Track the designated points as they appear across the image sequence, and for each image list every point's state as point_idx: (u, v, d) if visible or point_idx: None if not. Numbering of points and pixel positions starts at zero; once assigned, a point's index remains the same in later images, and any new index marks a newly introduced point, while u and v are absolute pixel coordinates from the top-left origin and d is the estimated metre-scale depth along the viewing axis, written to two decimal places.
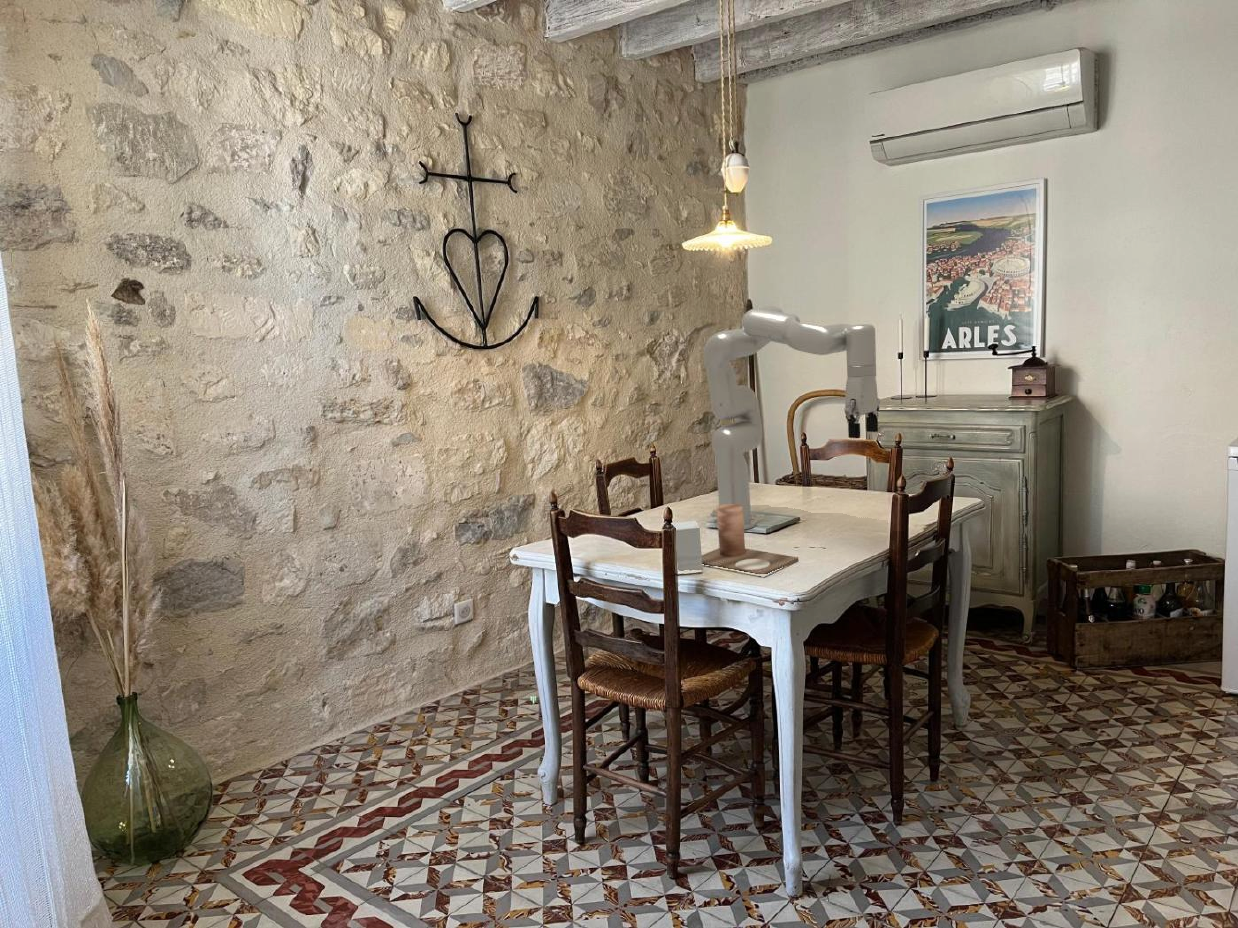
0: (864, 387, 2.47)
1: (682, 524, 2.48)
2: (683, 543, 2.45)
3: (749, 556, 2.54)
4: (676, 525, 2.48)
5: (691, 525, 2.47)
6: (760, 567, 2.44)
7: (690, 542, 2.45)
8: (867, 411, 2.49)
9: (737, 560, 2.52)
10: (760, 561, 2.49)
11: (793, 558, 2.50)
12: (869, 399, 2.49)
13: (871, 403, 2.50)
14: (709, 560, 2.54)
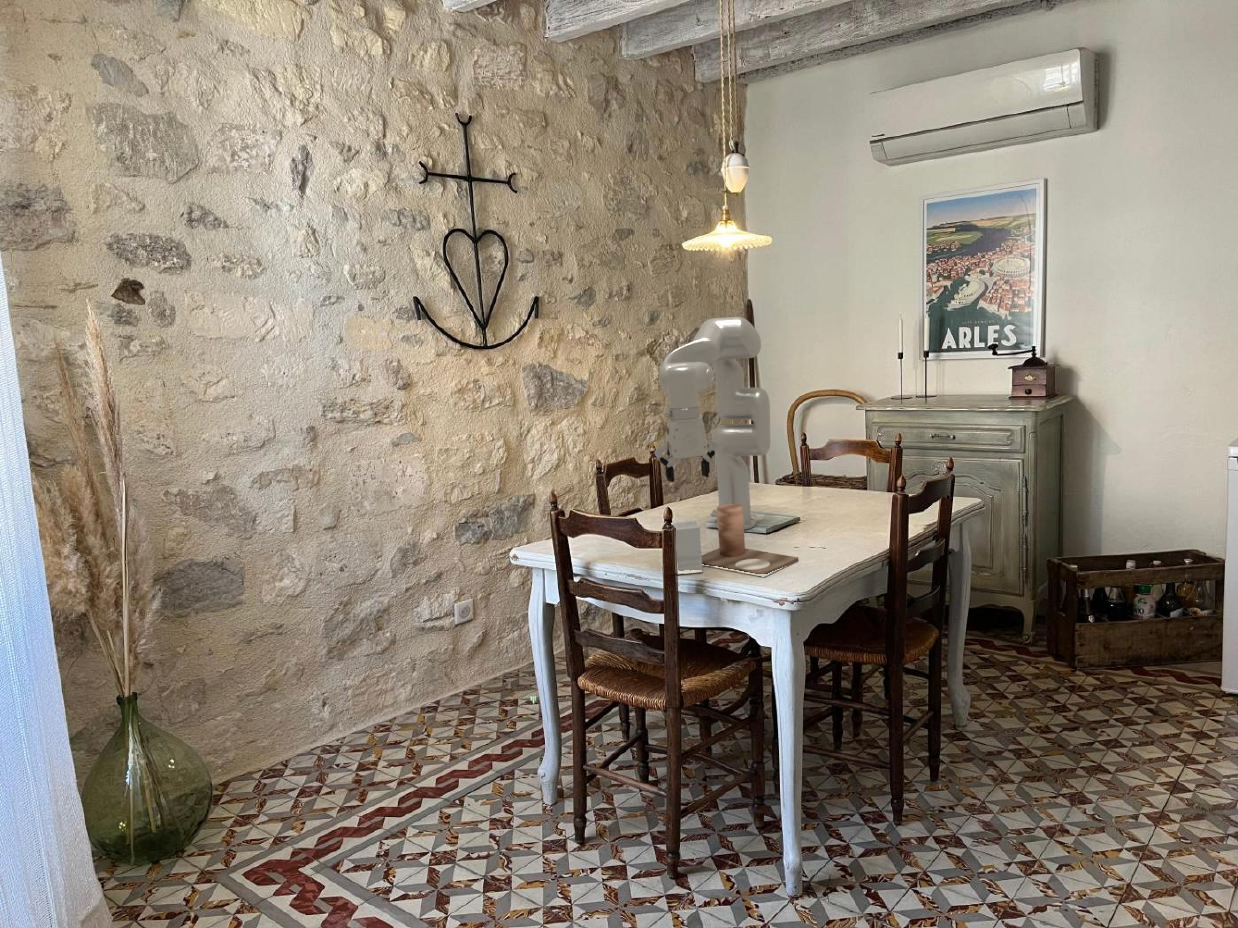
0: None
1: (682, 524, 2.48)
2: (683, 543, 2.45)
3: (749, 556, 2.54)
4: (676, 525, 2.48)
5: (691, 525, 2.47)
6: (760, 567, 2.44)
7: (690, 542, 2.45)
8: None
9: (737, 560, 2.52)
10: (760, 561, 2.49)
11: (793, 558, 2.50)
12: None
13: None
14: (709, 560, 2.54)
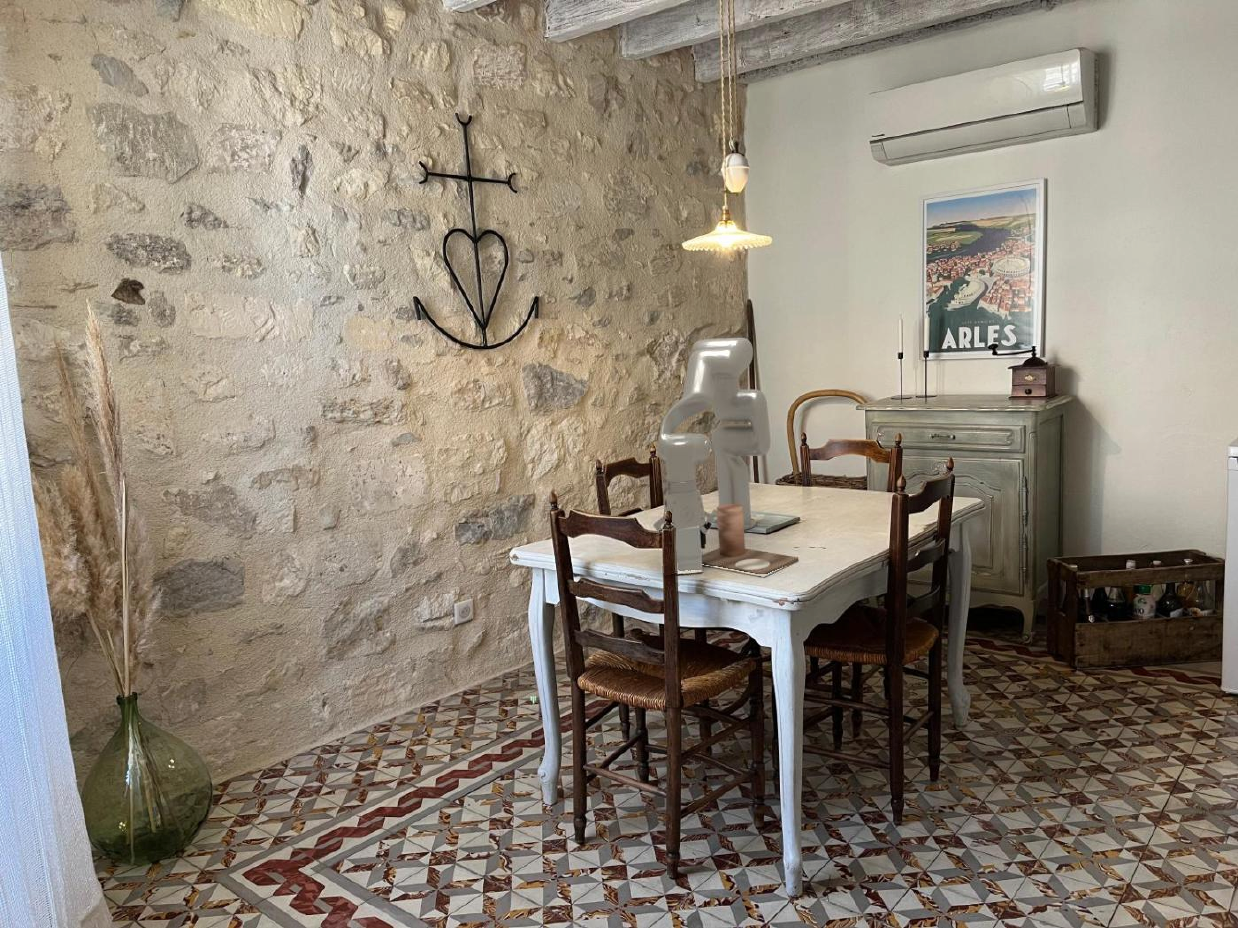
0: None
1: None
2: (683, 542, 2.45)
3: (749, 556, 2.54)
4: None
5: None
6: (760, 567, 2.44)
7: (691, 542, 2.45)
8: None
9: (737, 560, 2.52)
10: (760, 561, 2.49)
11: (793, 558, 2.50)
12: None
13: None
14: (709, 560, 2.54)
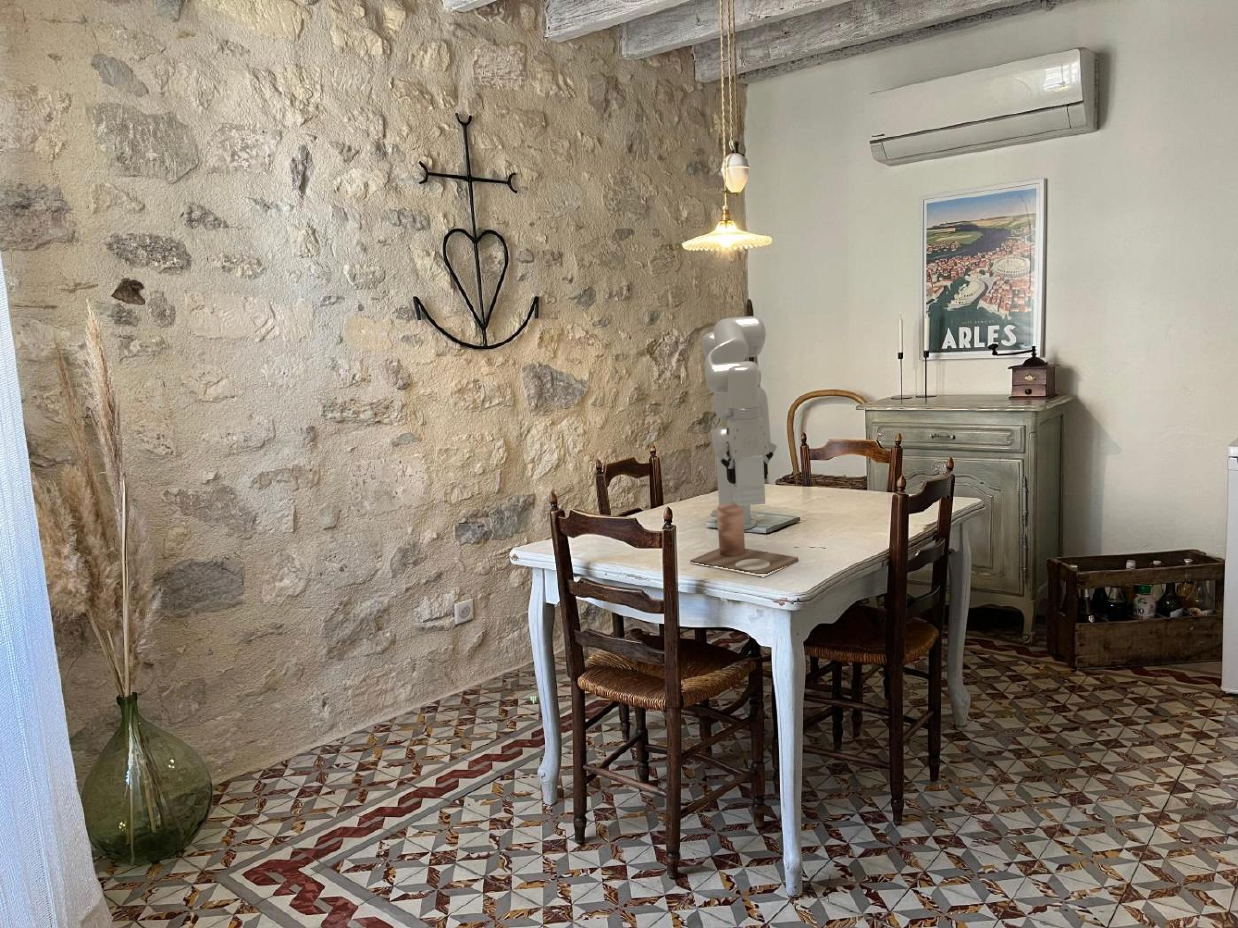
0: None
1: None
2: (746, 471, 2.39)
3: (749, 556, 2.54)
4: None
5: None
6: (760, 567, 2.44)
7: (754, 471, 2.39)
8: None
9: (737, 560, 2.52)
10: (760, 561, 2.49)
11: (793, 558, 2.50)
12: None
13: None
14: (709, 560, 2.54)
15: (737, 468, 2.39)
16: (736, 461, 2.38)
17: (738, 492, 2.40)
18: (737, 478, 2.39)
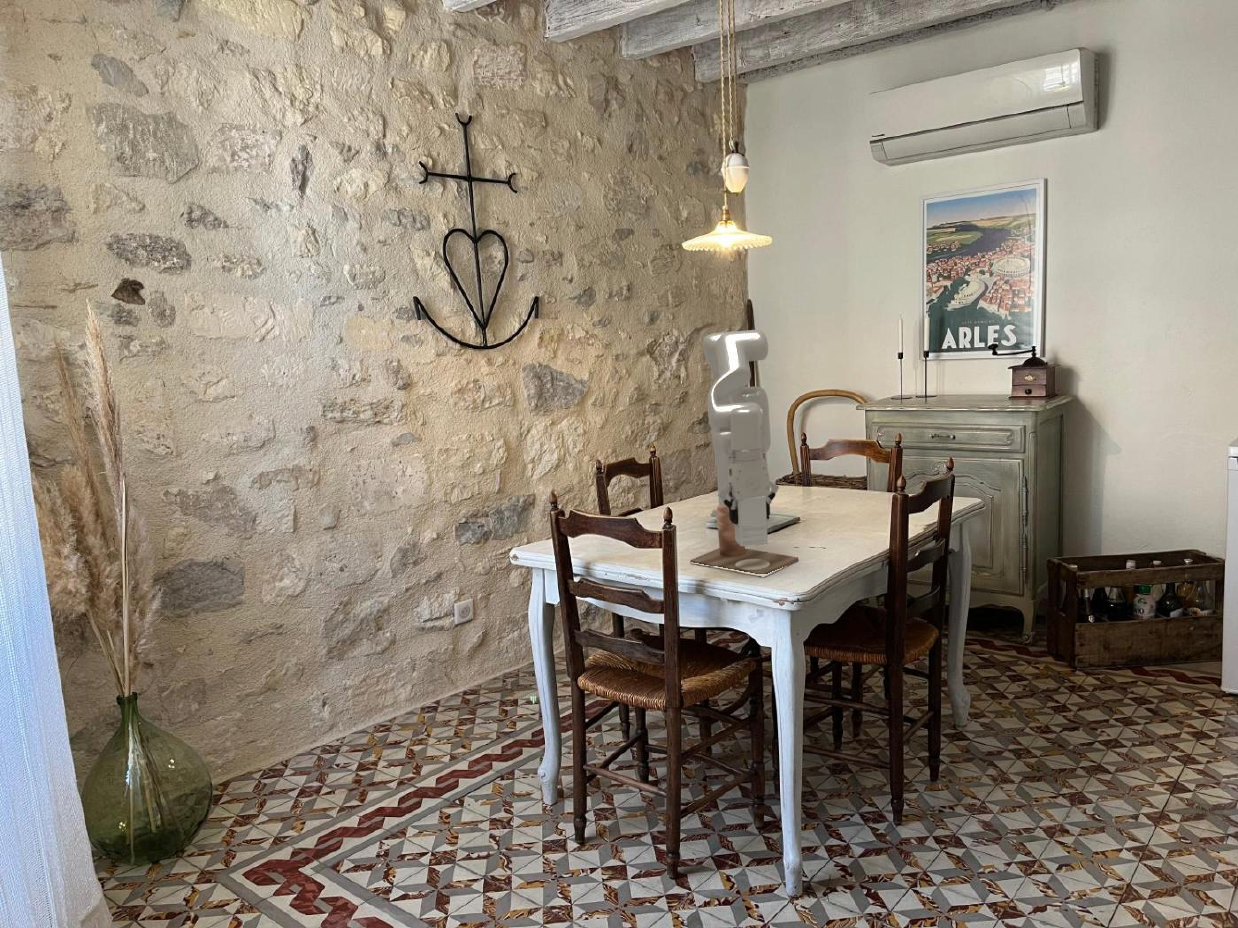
0: None
1: None
2: (748, 512, 2.41)
3: (749, 556, 2.54)
4: None
5: None
6: (760, 567, 2.44)
7: (756, 511, 2.41)
8: None
9: (737, 560, 2.52)
10: (760, 561, 2.49)
11: (793, 558, 2.50)
12: None
13: None
14: (709, 560, 2.54)
15: (740, 509, 2.41)
16: (739, 502, 2.40)
17: (741, 533, 2.41)
18: (740, 519, 2.41)
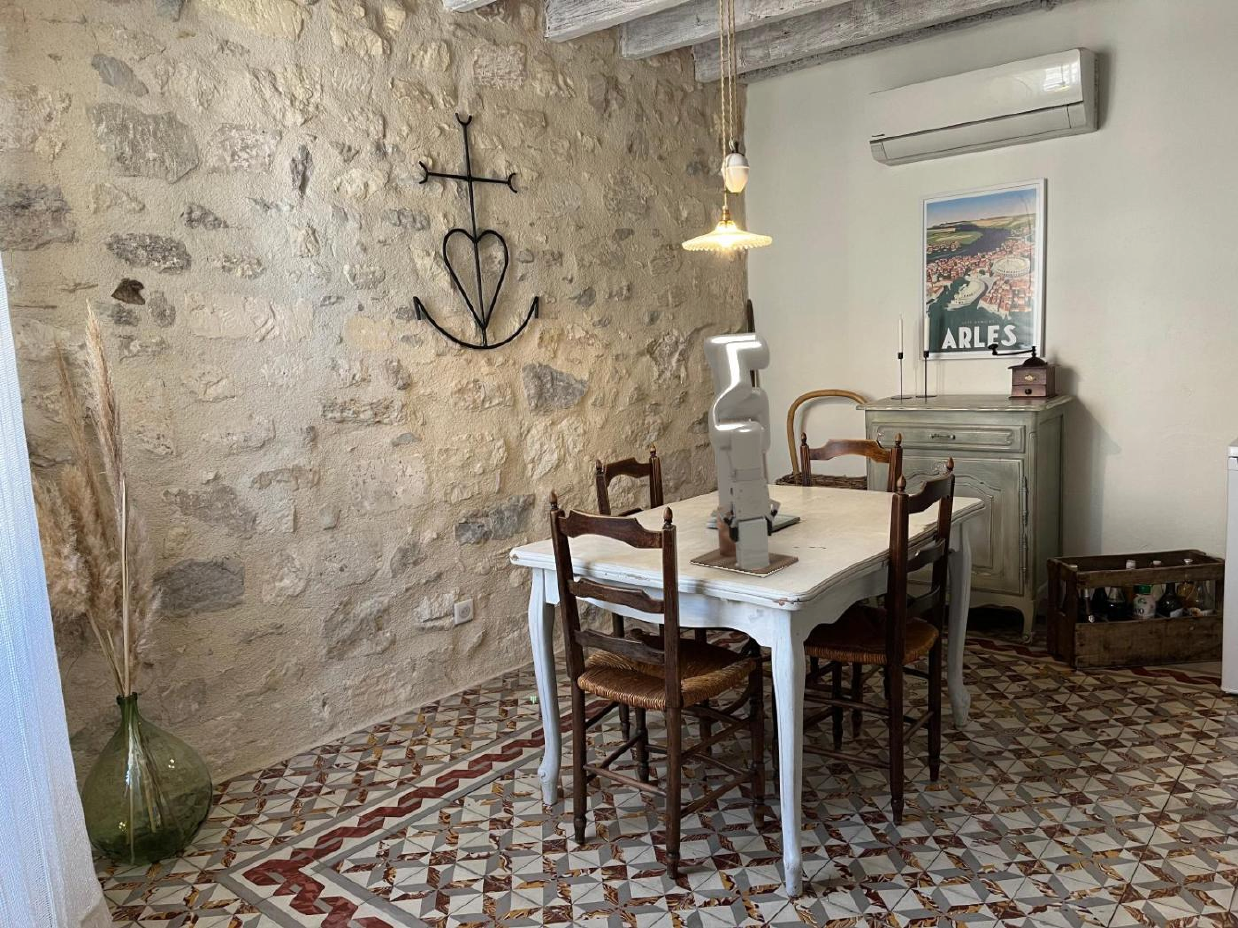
0: None
1: None
2: (750, 536, 2.42)
3: None
4: None
5: (757, 518, 2.44)
6: (760, 567, 2.44)
7: (757, 535, 2.42)
8: None
9: None
10: None
11: (793, 558, 2.50)
12: None
13: None
14: (709, 560, 2.54)
15: (741, 533, 2.41)
16: (740, 526, 2.41)
17: (742, 556, 2.43)
18: (741, 542, 2.42)
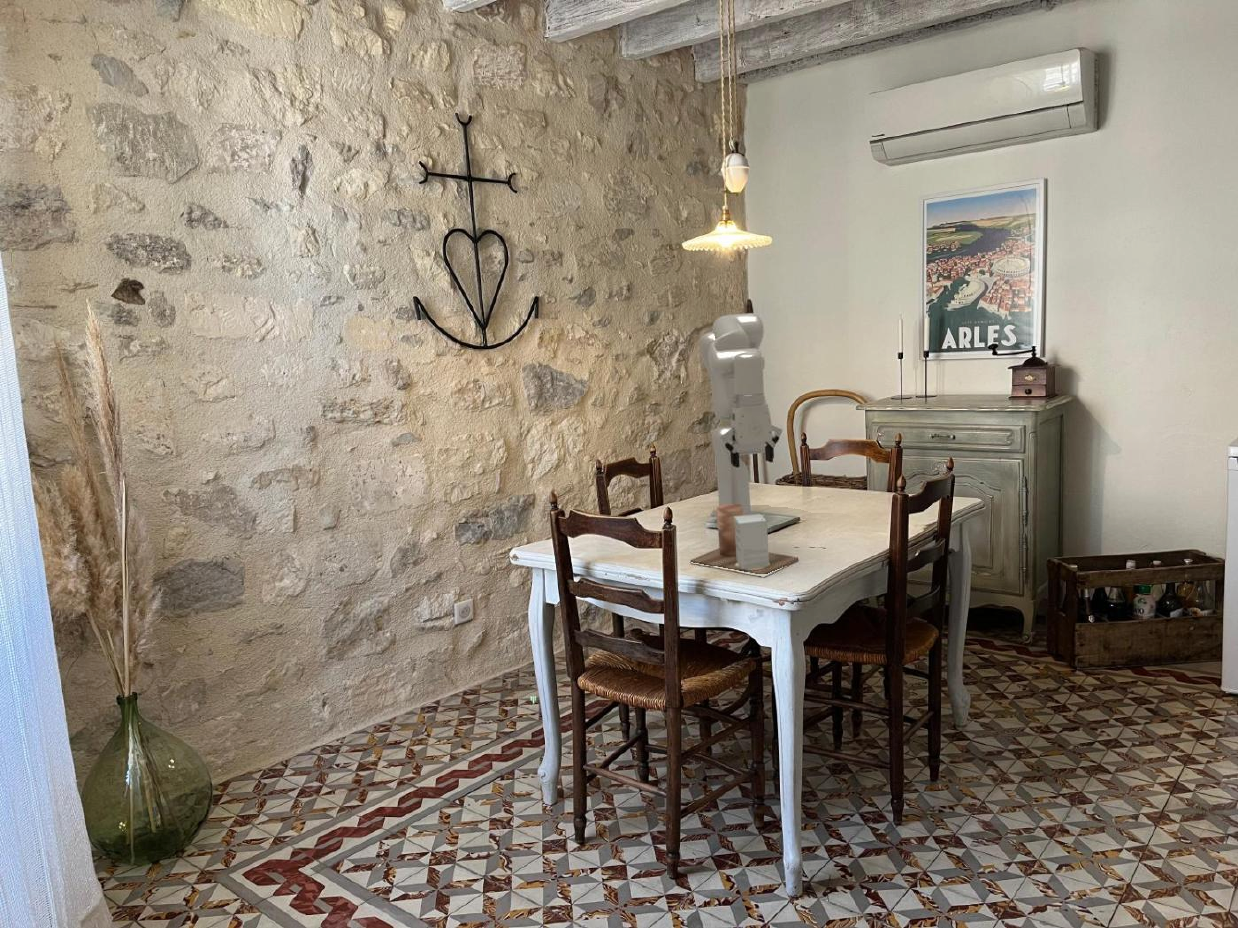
0: None
1: (747, 517, 2.45)
2: (750, 536, 2.42)
3: None
4: (742, 518, 2.45)
5: (757, 518, 2.44)
6: (760, 567, 2.44)
7: (757, 535, 2.42)
8: None
9: None
10: None
11: (793, 558, 2.50)
12: None
13: None
14: (709, 560, 2.54)
15: (741, 533, 2.41)
16: (740, 526, 2.41)
17: (742, 556, 2.43)
18: (741, 542, 2.42)
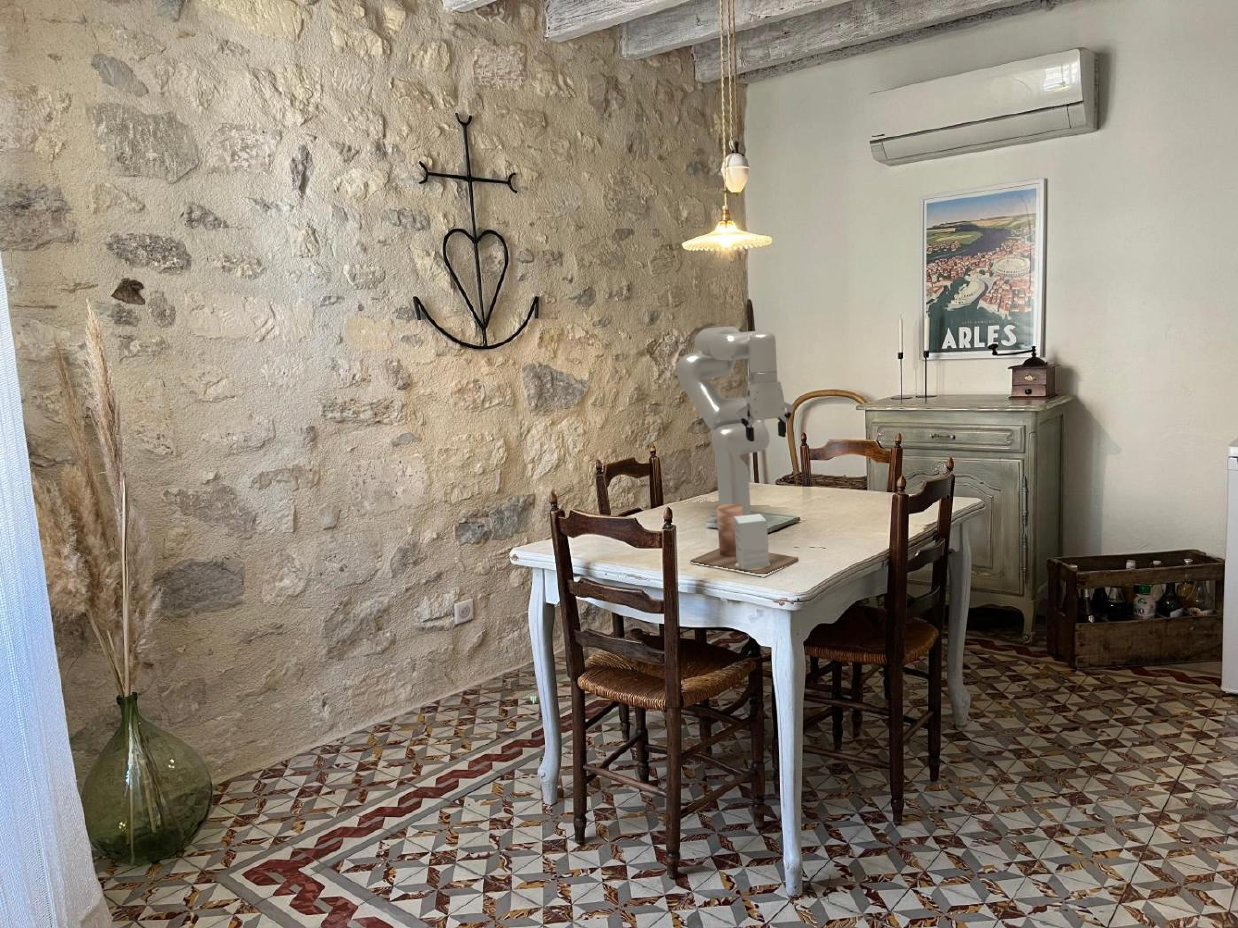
0: None
1: (747, 517, 2.45)
2: (750, 536, 2.42)
3: None
4: (742, 518, 2.45)
5: (757, 518, 2.44)
6: (760, 567, 2.44)
7: (757, 535, 2.42)
8: None
9: None
10: None
11: (793, 558, 2.50)
12: None
13: None
14: (709, 560, 2.54)
15: (741, 533, 2.41)
16: (740, 526, 2.41)
17: (742, 556, 2.43)
18: (741, 542, 2.42)
